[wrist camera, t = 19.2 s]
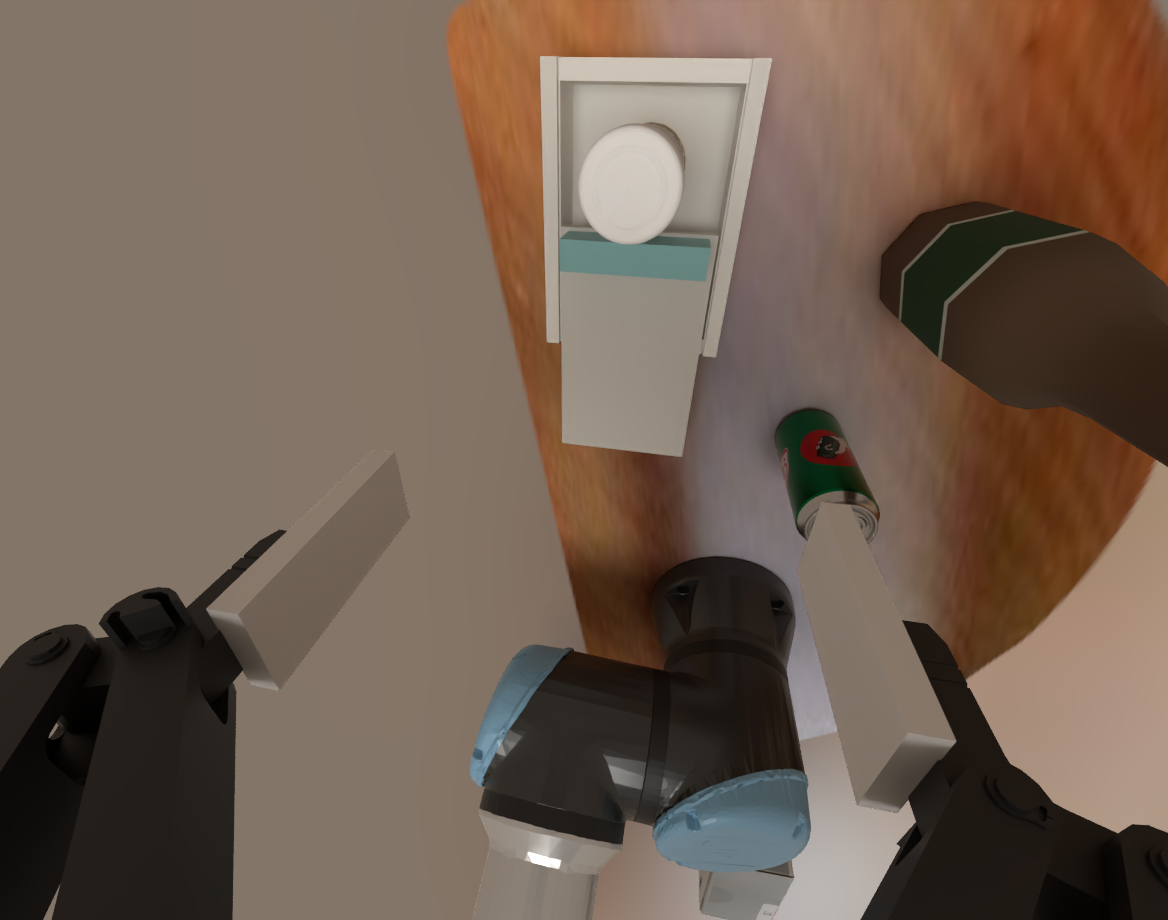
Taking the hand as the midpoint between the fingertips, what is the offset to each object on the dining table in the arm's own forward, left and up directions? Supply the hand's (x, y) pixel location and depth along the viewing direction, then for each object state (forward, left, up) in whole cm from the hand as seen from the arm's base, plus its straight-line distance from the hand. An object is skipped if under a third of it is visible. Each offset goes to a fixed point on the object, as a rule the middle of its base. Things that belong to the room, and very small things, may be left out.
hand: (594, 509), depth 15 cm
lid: (-3, +1, -22) cm, 22 cm away
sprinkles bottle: (+8, +1, -26) cm, 27 cm away
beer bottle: (+3, -19, -26) cm, 32 cm away
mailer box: (+5, +1, -26) cm, 27 cm away
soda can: (-11, -14, -26) cm, 32 cm away
